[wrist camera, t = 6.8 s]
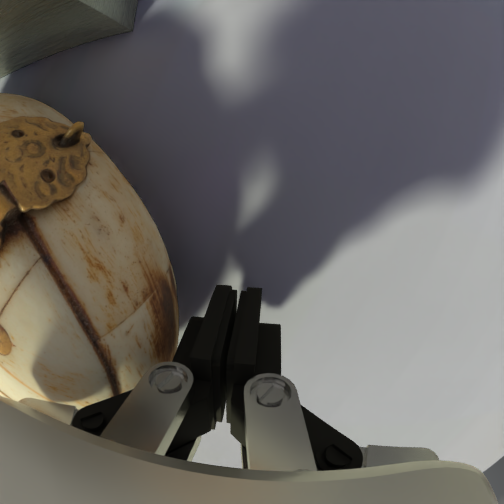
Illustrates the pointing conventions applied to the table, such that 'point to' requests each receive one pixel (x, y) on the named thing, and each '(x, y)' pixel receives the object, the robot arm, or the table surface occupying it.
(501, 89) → the table surface
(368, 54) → the table surface
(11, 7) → the vise
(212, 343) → the robot arm
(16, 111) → the trinket box
